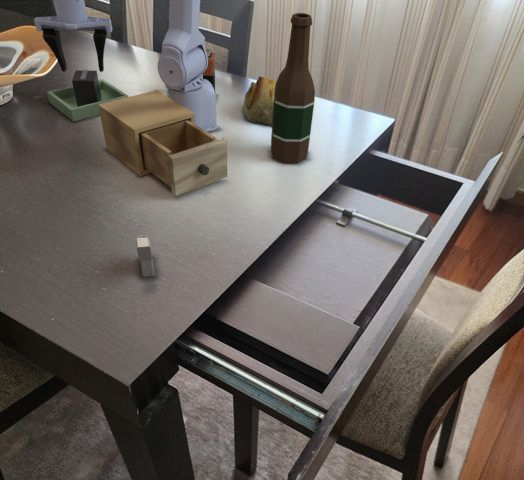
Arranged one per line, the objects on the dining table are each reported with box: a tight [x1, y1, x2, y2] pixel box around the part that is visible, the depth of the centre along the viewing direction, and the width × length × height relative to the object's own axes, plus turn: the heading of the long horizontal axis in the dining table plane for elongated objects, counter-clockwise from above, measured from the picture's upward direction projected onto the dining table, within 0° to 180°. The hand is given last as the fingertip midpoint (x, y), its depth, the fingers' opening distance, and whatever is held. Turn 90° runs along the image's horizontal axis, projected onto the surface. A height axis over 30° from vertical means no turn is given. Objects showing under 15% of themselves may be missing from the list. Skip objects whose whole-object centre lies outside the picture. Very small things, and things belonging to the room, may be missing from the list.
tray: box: [46, 79, 130, 123], centre depth 108 cm, size 14×12×2 cm
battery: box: [203, 48, 216, 92], centre depth 111 cm, size 4×7×10 cm, turn 88°
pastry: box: [241, 75, 277, 126], centre depth 107 cm, size 14×12×8 cm
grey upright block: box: [135, 233, 155, 278], centre depth 68 cm, size 7×2×8 cm, turn 13°
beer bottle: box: [270, 12, 316, 164], centre depth 89 cm, size 8×8×24 cm
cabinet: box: [98, 89, 195, 177], centre depth 92 cm, size 13×13×9 cm
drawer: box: [139, 119, 228, 197], centre depth 87 cm, size 13×11×7 cm
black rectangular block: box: [71, 69, 101, 107], centre depth 106 cm, size 6×4×6 cm
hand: (83, 69), depth 103 cm, fingers open, 7 cm apart
